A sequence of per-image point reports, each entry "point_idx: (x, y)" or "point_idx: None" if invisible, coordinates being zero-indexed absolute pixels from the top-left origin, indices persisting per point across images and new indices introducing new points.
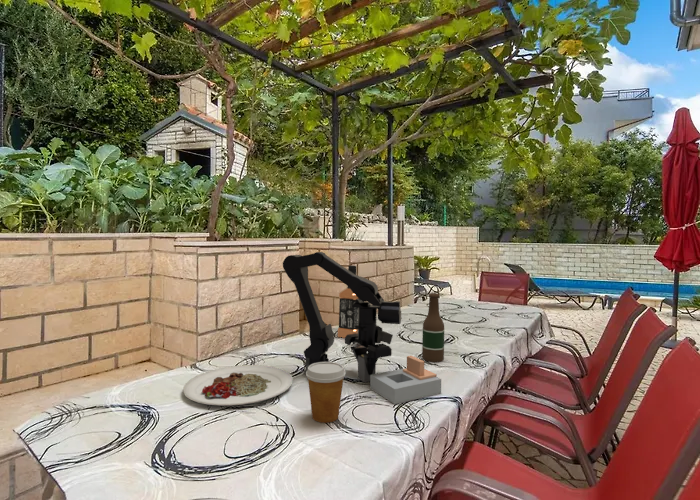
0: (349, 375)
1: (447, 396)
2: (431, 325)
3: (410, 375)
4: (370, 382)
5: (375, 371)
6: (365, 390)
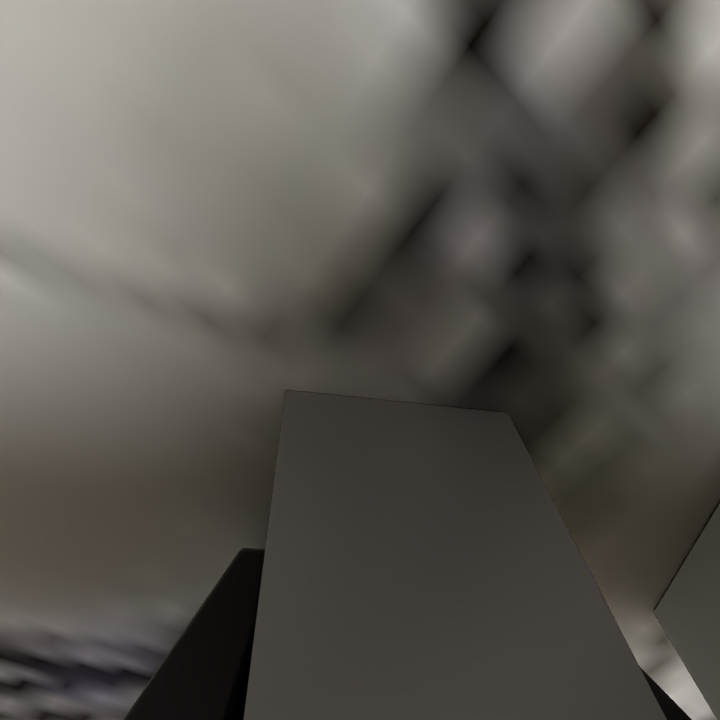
0: (106, 582)
1: None
2: None
3: None
4: (702, 689)
5: (563, 524)
6: (639, 662)
